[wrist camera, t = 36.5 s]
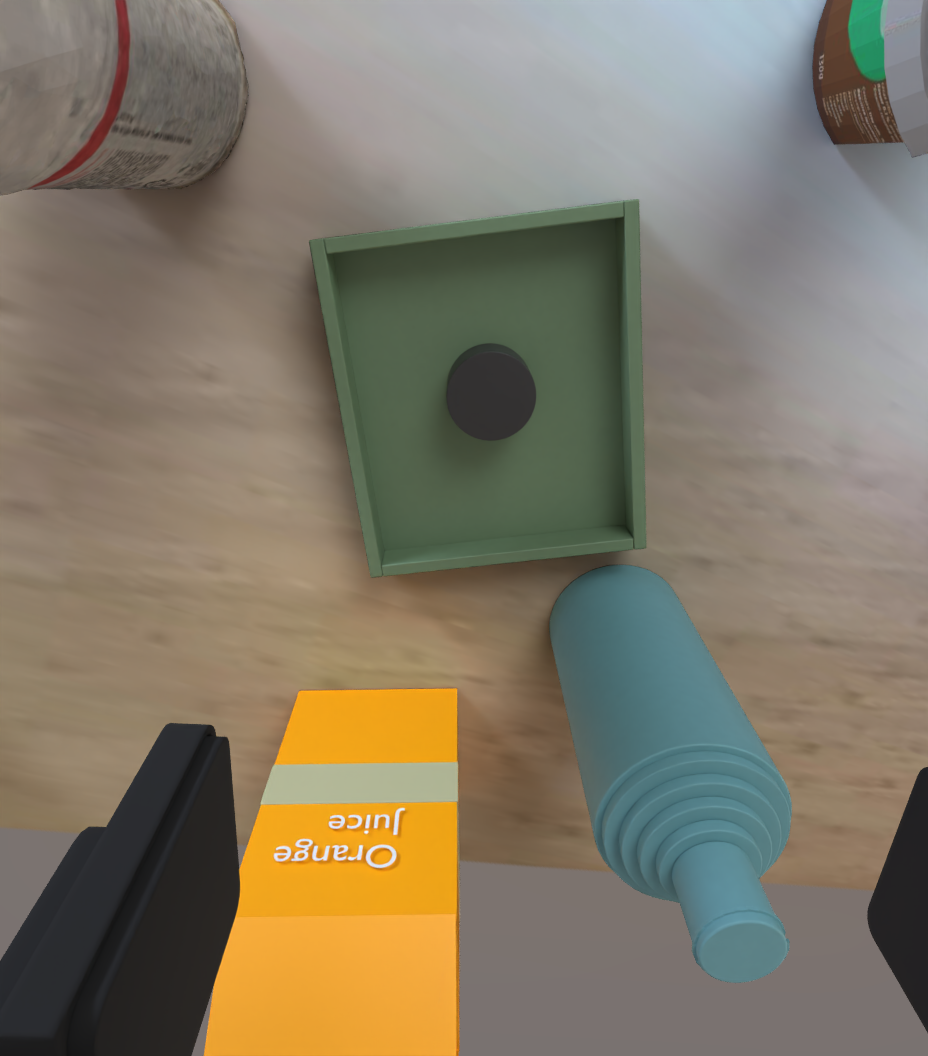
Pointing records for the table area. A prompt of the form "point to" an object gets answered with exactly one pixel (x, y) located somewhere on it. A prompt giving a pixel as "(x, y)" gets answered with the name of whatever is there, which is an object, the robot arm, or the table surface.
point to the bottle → (672, 766)
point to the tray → (550, 354)
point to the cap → (490, 392)
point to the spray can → (117, 93)
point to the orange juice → (350, 886)
